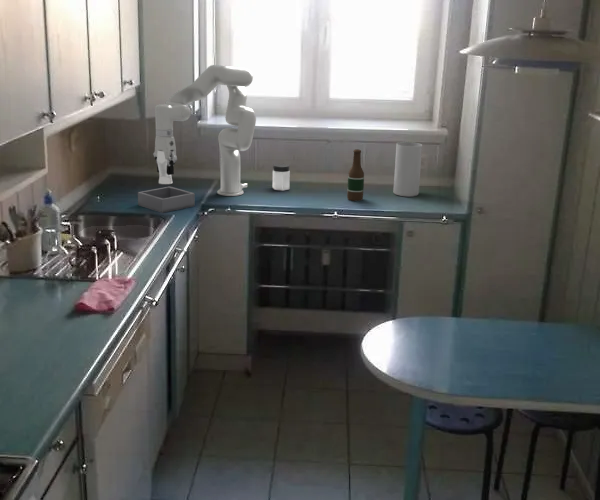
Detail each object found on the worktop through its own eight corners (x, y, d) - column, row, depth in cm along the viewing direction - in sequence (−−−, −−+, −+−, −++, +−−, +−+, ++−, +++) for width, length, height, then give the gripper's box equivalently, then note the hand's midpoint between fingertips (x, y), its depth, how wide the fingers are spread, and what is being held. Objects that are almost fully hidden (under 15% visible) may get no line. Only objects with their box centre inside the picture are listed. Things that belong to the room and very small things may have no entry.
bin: (170, 199, 356) (169, 186, 354) (194, 206, 344) (194, 193, 343) (138, 205, 343) (137, 192, 341) (162, 212, 332) (162, 199, 330)
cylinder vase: (423, 195, 376) (427, 145, 368) (402, 197, 370) (405, 147, 363) (409, 190, 386) (412, 141, 379) (388, 192, 381) (391, 142, 373)
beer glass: (170, 185, 337) (169, 151, 332) (155, 184, 338) (154, 150, 333) (175, 182, 343) (175, 149, 339) (161, 180, 344) (160, 148, 340)
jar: (271, 186, 386) (271, 163, 382) (286, 186, 387) (287, 163, 384) (274, 190, 377) (275, 167, 374) (290, 190, 379) (291, 166, 376)
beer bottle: (366, 200, 364) (368, 150, 357) (352, 201, 360) (355, 151, 353) (356, 196, 370) (359, 147, 363) (343, 198, 366) (345, 149, 359)
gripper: (183, 134, 331) (184, 175, 336) (159, 130, 342) (160, 169, 347) (169, 136, 326) (170, 177, 331) (145, 131, 337) (146, 171, 342)
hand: (165, 172), depth 339 cm, fingers closed on beer glass, 6 cm apart
